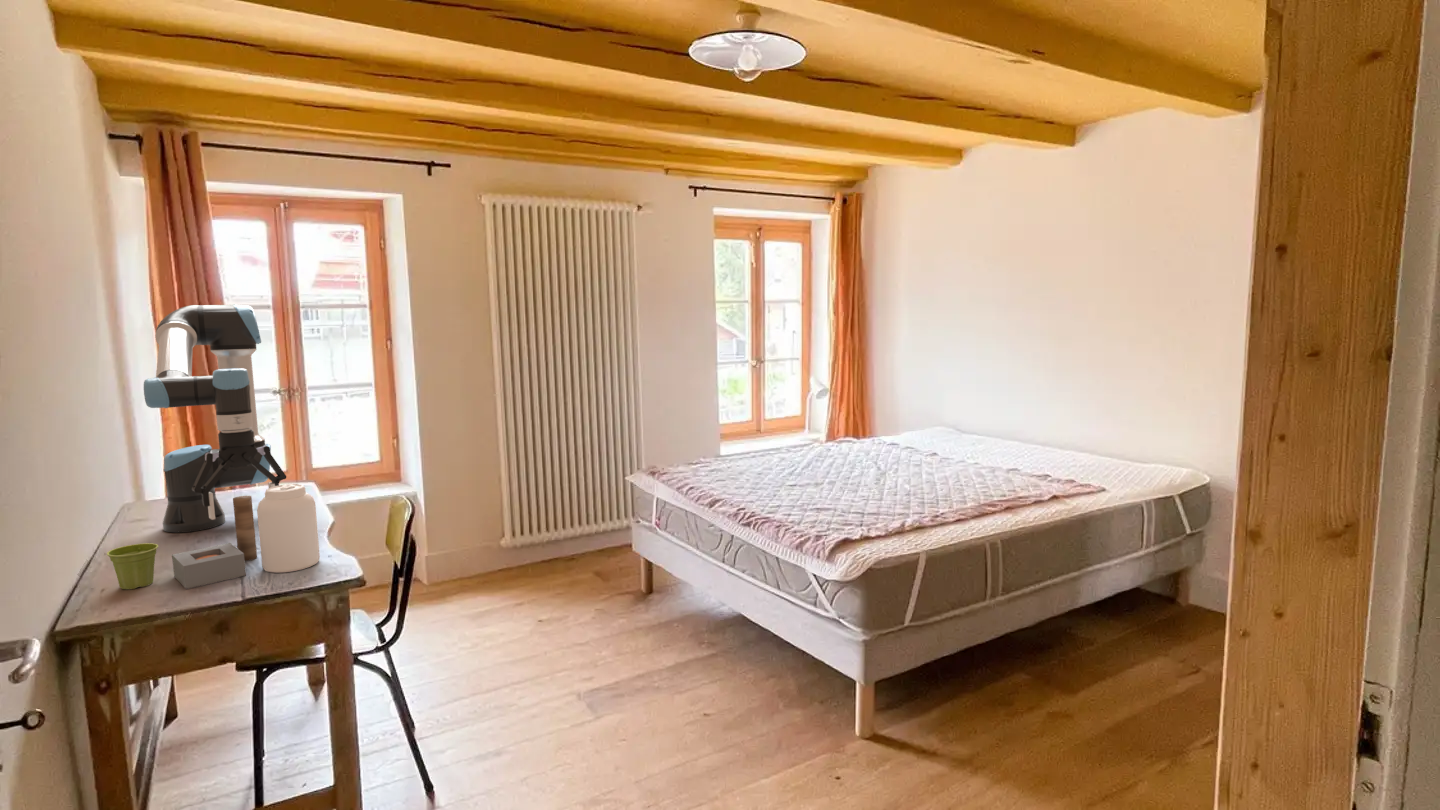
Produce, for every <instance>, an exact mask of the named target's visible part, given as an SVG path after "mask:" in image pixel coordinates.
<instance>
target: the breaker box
mask: <svg viewBox="0 0 1440 810" xmlns="http://www.w3.org/2000/svg"><path fill="white" fill-rule="evenodd" d="M207 555H218V556H213V557H208V558H203V559H198V560H196V559H197V558H200V557H203V556H207ZM171 558H172V568H173V569H172V571H173V577H174V578H175V580H177V581H178V582H179V584H180V585H181V586H182V587H183V588H184V589H185V590H190V589H194V588H198V587H203V586H207V585H210V584H215V583H220V582H225V581H229V580H232V579H237V578H242V577H246V576H247V571H246V561H245V559H244V553H243V552H241V551H240V550H239V549H238V547H237V546H235V545H233V544H232V543H230V542H229V543H228V542H227V543H223V544H222V543H221V544H217V545H213V546H209V547H203V548H198V549H194V550H188V551H183V552H178V553H174V554H171Z"/></svg>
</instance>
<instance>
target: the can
mask: <svg viewBox="0 0 1440 810" xmlns="http://www.w3.org/2000/svg"><path fill="white" fill-rule="evenodd" d="M256 513H257V523H258V534H259V535H258V536H259V544H260V556H261V567H262V568H263V570H264V571H265V572H268V573H277V574H279V573H282V574H283V573H291V572H296V571H300V570H301V571H302V570H304V569H307V568H310V567H312V566H314V565H315V566H316V564H318V563H319V561H320V557H321V555H320V544H319V543H320V542H319V532H318V530H319V529H318V521H317V506H316V500H315V498H314V496H313V495H311V494H310V493H308V492H307V491H306V487H305V485H303V484H298V483H286V484H279V485H278V486H274V487H271V488H269V487H268V488H267V489H266V490H265V492H264V497H263V498H262V499H261V500H260V501H259V502H258V505H257V510H256Z"/></svg>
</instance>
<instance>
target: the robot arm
mask: <svg viewBox="0 0 1440 810" xmlns="http://www.w3.org/2000/svg"><path fill="white" fill-rule="evenodd" d="M258 325H259V324H258V323H257V317H256V313H255V311H254V309H253V307H252V306H250V305H248V304H247V305H245V304H244V305H243V304H205V305H203V304H202V305H201V304H200V305H198V304H192V305H191V304H190V305H185V306H182V307H179V308H178V309H177V308H176V309H174V311H172V312H170V313H168V314H167V315H166V316H164V318H163V319H161V320H160V322H159V323H158V325H157V326H156V329H155V335H154V336H155V337H154V338H155V342H156V343H157V345H158V353H157V363H156V371H155V377H151V378H147V379H145V380H144V381H143V395H144V403H145V405H146V406H147V407H148V408H150V409H169V408H180V407H181V408H183V407H195V406H196V407H197V406H212V405H215V411H216V412H215V414H216V427H217V430H218V431H219V432H218V434H217V435H218V447H219V448H213V447H212V446H211V444H199V445H198V444H197V445H192V446H187V447H182V448H179V449H175V450H172V451H170V452H168V453H167V454H165V456H164V458H163V472H164V477H165V488H166V495H167V496H166V497H167V507H166V510H165V513H164V516H163V519H162V529H163V532H167V533H189V532H196V531H197V532H198V531H202V530H206V529H207V530H208V529H212V528H215V527H217V526H220V525H223V524H225V522H226V515H225V512H224V510H223V508H222V506H221V505H220V503H219V501H218V499H217V495H216V489H219V488H221V489H222V488H228V487H238V486H245V485H246V486H247V485H248V486H252V485H256V484H262V483H265V482H267V481H268V480H270V481H271V482H268V483H267V485H268V486H267V487H268V488H271V487H274V486H278V485H280V482H281V481H283V480H286V479H287V475H286V473H285V472H284V471H283V469H282V468H281V465H280V464H278V462H277V461H276V459H275V458H274V456H273V455H272V453H271V451H272V449H271V448H272V446H271V444H269V443H266V441H265V439H266V438H265V437H263V436H262V435H260V434H259V427H258V426H259V425H258V416H257V406H256V395H255V394H256V392H255V384H254V383H255V382H254V374H253V373H254V372H253V363H252V362H253V361H252V359H253V358H252V355H253V354H254V353H255V352H257V345H259V344H261V343H262V339H261V335H260V330H259V326H258ZM195 346H209V348H210V349H209V350H210V352H211V353H212V354H213V355H214V356H216V358H217V367H218V369H214V370H213V372H212V374H211V375H199V376H198V375H193V348H194V347H195ZM271 468H272V470H273V471H274V473H275V474H276V475H274V474H273V473H272V472H271V471H270V469H271Z"/></svg>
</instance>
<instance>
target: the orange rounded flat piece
mask: <svg viewBox="0 0 1440 810" xmlns="http://www.w3.org/2000/svg"><path fill="white" fill-rule="evenodd" d="M213 556H218V555H207V556H203V557H200V558H197V559H196V560H198V559H203V558H208V557H213Z"/></svg>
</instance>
